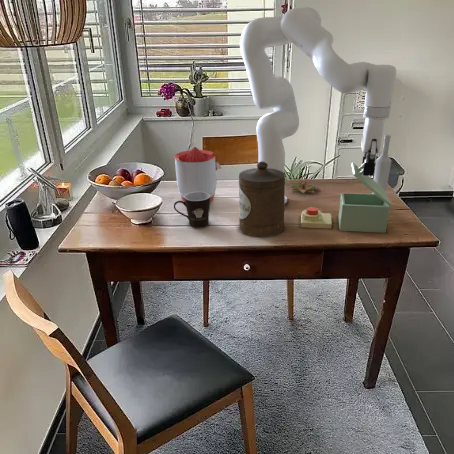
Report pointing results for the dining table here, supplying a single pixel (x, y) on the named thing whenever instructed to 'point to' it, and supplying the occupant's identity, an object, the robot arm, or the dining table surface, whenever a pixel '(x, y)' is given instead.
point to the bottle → (383, 165)
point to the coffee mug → (196, 208)
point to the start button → (312, 211)
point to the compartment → (362, 213)
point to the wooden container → (261, 201)
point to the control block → (316, 220)
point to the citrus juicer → (196, 172)
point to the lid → (370, 183)
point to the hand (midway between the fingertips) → (367, 171)
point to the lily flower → (303, 187)
